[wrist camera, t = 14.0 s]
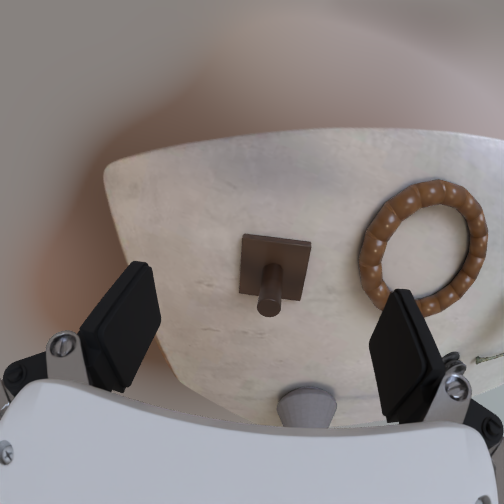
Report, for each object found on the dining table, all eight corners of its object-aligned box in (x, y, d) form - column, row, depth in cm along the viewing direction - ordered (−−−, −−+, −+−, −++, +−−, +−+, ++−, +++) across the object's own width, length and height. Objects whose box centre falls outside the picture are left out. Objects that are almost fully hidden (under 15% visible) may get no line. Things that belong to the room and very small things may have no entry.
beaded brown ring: (377, 161, 27) (385, 166, 24) (495, 197, 25) (507, 204, 23) (341, 305, 36) (344, 318, 34) (450, 312, 35) (456, 324, 32)
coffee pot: (277, 410, 51) (271, 472, 38) (277, 380, 46) (270, 454, 33) (375, 405, 48) (383, 465, 35) (390, 375, 43) (404, 444, 30)
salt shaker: (436, 374, 42) (451, 421, 32) (434, 359, 40) (452, 410, 29) (460, 362, 40) (478, 407, 30) (460, 346, 38) (482, 394, 27)
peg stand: (243, 233, 33) (230, 269, 26) (310, 241, 32) (316, 280, 25) (240, 288, 37) (228, 330, 30) (300, 295, 36) (300, 339, 29)
